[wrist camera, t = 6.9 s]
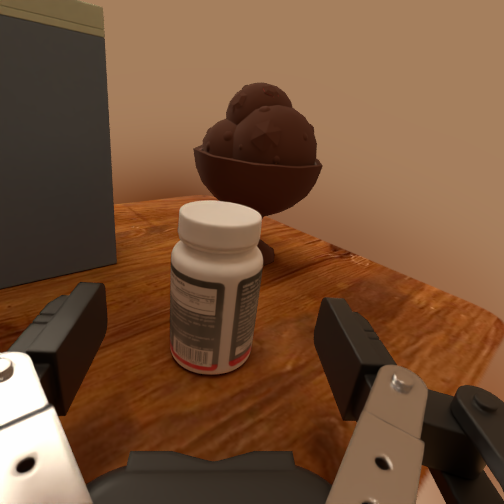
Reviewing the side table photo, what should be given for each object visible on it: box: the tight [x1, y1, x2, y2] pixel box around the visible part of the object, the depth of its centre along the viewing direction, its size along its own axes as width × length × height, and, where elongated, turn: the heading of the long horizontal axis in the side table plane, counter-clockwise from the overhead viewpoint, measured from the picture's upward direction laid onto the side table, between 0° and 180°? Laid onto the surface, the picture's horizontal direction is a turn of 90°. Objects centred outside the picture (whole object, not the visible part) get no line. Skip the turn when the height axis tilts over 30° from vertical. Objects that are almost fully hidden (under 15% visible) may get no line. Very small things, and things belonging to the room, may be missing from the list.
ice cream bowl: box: [194, 83, 322, 266], centre depth 29 cm, size 11×11×15 cm
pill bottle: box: [170, 201, 263, 375], centre depth 18 cm, size 5×5×8 cm
